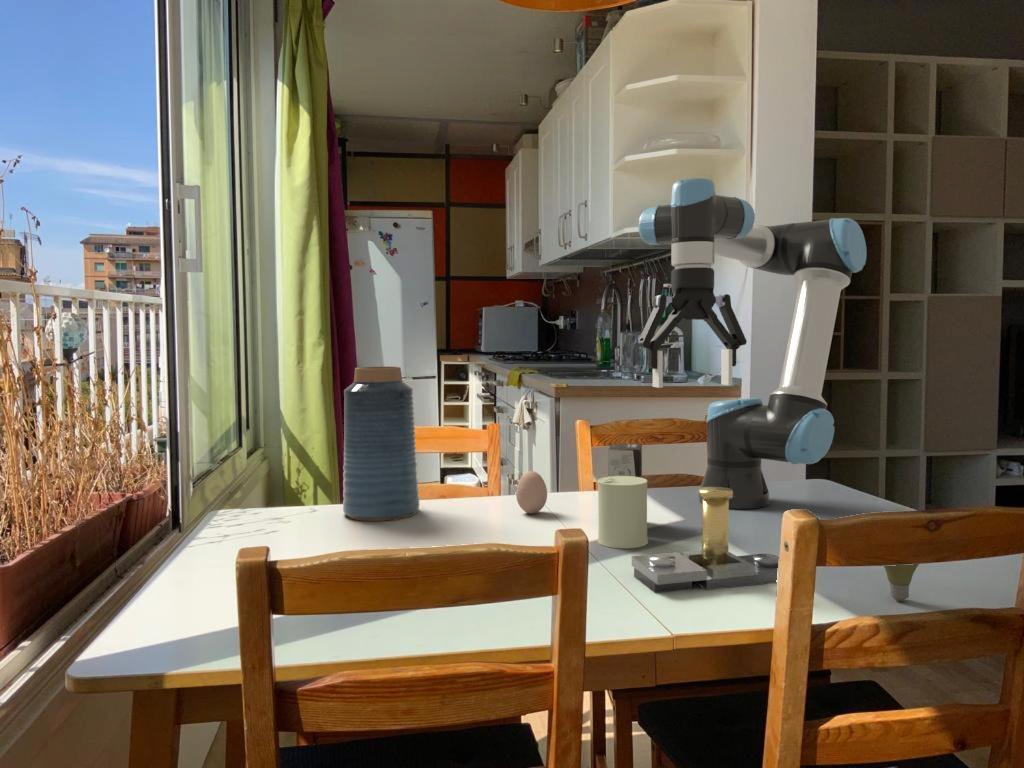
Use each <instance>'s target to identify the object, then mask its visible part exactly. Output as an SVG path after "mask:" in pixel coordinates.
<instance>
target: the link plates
mask: <svg viewBox="0 0 1024 768" xmlns="http://www.w3.org/2000/svg"><path fill="white" fill-rule="evenodd" d="M682 553H683V555H682ZM682 553H679V552H677V551H676V552H667V553H654V554H646V555H645V554H644V555H634V556H631V567H633V576H634V578H635V579H636V580H638V582H639V581H640V583H642V584H643V585H644V586H646V587H647V588H648V589H650V590H651V591H653V592H654V593H665V592H672V591H673V592H674V591H682V590H684V591H685V590H692V583H693V582H694V583H696V584H698V585H699V586H700V587H702V588H703V589H705V590H706V591H707V590H716V589H728V588H737V587H747V586H756V585H766V584H776V580H777V568H778V559H779V560H780V557H779V556H778V555H774V554H769V553H757V554H755V553H754V554H746V555H744V554H743V555H735V554H734V553H732V552H730V551H728V564H721V565H710V566H707V570H706V569H704V568H702V550H691V551H683V552H682Z"/></svg>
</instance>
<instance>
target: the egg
mask: <svg viewBox="0 0 1024 768" xmlns="http://www.w3.org/2000/svg"><path fill="white" fill-rule="evenodd" d="M515 492H516V494H515V495H516V501H517V504H518V505H519V507H520V509H522V510H523V511H524V512H525V513H526V514H530V515H531V514H532V515H533V514H537V513H539V512H540V511H541V510H542V509H543V508H544V507H545V506H546V503H547V499H548V489H547V485H546V482H545V480H544V479H543V477H542V475H541V474H539V473H538V472H536V471H534V470H530V471H526V472H525V473H524V474H522V476H521V477H520V479H519V481H518V483H517V486H516V491H515Z"/></svg>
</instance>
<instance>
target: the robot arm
mask: <svg viewBox="0 0 1024 768" xmlns="http://www.w3.org/2000/svg"><path fill="white" fill-rule="evenodd" d="M715 187H716V186H715V183H714V182H713V180H712V179H709V178H702V177H694V178H693V177H692V178H686V179H685V178H684V179H680V180H678V181H676V182H674V183H673V184H672V186H671V202H670V203H669V204H665V205H664V204H663V205H657V206H653V207H649V208H646V209H644V211H643V212H641V214H640V216H639V219H638V227H637V228H638V232H639V236H640V238H641V240H642V241H643V242H644V243H645V244H647V245H651V246H662V245H671V247H670V248H671V250H670V251H671V252H670V253H671V261H670V263H671V266H672V267H674V269H672V270H671V273H670V274H671V277H670V279H671V284H670V285H671V287H670V289H671V294H670V296H667V295H665V294H658V295H657V294H656V295H655V296H654V302H653V308H652V311H651V312H650V315H649V317H648V319H647V321H646V323H645V325H644V328H643V330H642V332H641V334H640V337H639V339H638V341H637V346H638V347H639V348H643V349H645V350H647V367H648V368H649V369H652V387H653V388H658V389H663V387H664V385H663V384H664V383H663V382H664V380H663V379H664V377H663V376H664V375H663V374H664V373H663V372H664V369H663V368H664V365H663V364H664V359H663V355H664V353H663V350H659V349H660V347H661V346H662V345H663V344H664V342H665V341H666V340H667V338H668V337H669V335H671V333H672V332H673V331H674V329H675V328H676V327H677V325H678V324H679V323H680V322H682V321H688V320H689V321H691V320H693V321H695V320H697V321H698V320H701V321H702V320H703V321H704V322H705V323H706V324H707V325H708V326H709V328H710V329H711V330H712V331H713V333H714V335H716V337H717V338H718V339H719V341H720V342H721V343H722V344H723V346H724V347H725V348H722V349H721V351H720V353H721V354H720V355H721V356H720V357H721V360H720V362H721V363H720V365H721V367H720V372H721V373H720V377H721V379H720V380H721V381H720V385H725V386H733V367H736V365H737V350H738V349H739V348H740V347H741V346H745V345H747V338H746V337H745V334H744V332H743V329H742V327H741V325H740V322H739V321H738V319H737V317H736V314H735V312H734V309H733V307H732V302H731V295H730V294H727V293H726V294H719V295H717V296H715V294H714V289H715V270H714V268H712V266H714V264H715V255H716V256H718V257H719V256H720V257H723V258H728V259H732V260H736V261H737V260H738V261H739V262H740V263H741V264H742V265H743V266H745V267H746V268H751V269H754V270H755V269H756V270H759V271H762V272H768V273H770V274H771V273H772V274H775V275H783V276H793V278H794V280H795V281H796V283H798V289H797V295H796V300H795V305H794V310H793V315H792V319H791V325H790V331H789V336H788V341H787V346H786V349H785V350H786V351H785V354H784V355H785V356H784V361H783V364H782V365H783V366H782V370H781V371H782V372H781V376H780V381H779V387H778V388H777V389H776V390H774V391H773V392H770V394H769V398H768V403H767V404H766V405H765V404H763V403H764V402H763V401H762V400H763V399H762V398H760V397H749V398H748V397H747V398H738V399H737V398H736V399H729V400H728V399H727V400H718V401H713V402H711V403H710V404H709V405H708V408H707V418H706V425H707V426H706V432H707V433H706V437H707V439H706V441H707V442H706V443H707V444H706V446H707V449H706V450H707V453H706V456H707V462H706V463H707V465H706V470H705V473H704V476H703V479H702V482H701V484H700V487H699V488H703V487H724V488H729V489H732V490H733V498H731V499H729V509H733V510H734V509H737V510H738V509H739V510H746V509H757V508H758V509H759V508H763V507H766V506H768V505H769V504H770V492H769V488H768V485H767V482H766V479H765V476H764V473H763V470H762V460H767V461H774V462H775V461H777V462H781V463H782V462H783V463H785V462H786V463H790V464H792V465H800V464H803V465H813V464H815V463H818V462H819V461H821V460H822V458H824V457H825V456H826V455H827V453H828V452H829V450H830V448H831V445H832V444H833V439H834V436H835V426H834V424H835V419H834V416H833V414H832V413H831V412H830V411H829V410H827V407H828V402H826V400H825V399H824V398H823V396H822V392H823V388H824V382H825V377H826V372H827V371H826V370H827V366H828V360H829V354H830V351H831V345H832V339H833V333H834V330H835V323H836V319H837V312H838V307H839V304H840V303H839V302H840V297H841V291H842V290H843V289H845V288H847V287H848V286H849V285H850V283H851V279H852V274H853V273H858V272H860V271H862V270H863V268H864V266H865V265H866V262H867V245H866V239H865V236H864V232H863V230H862V228H861V226H860V225H859V223H858V222H856V221H855V220H854V219H853V218H849V217H843V218H842V217H841V218H835V217H831V218H829V219H822V220H821V219H820V220H815V221H814V220H813V221H802V222H796V223H795V222H792V223H791V222H790V223H784V224H778V225H763V224H755V218H756V213H755V210H754V208H753V206H752V204H751V203H749V201H747V200H744V199H741V198H739V197H736V196H733V197H731V196H725V195H718V194H716V190H715V189H716V188H715ZM669 305H670V306H671V307H672V309H673V310H672V311H671V313H670V314H669V315H668V316H667V319H666V320H665V321H664V323H663V324H662V325H661V327H660V328H659V330H658V331H656V330H657V328H658V327H659V324H660V322H661V320H662V318H663V315H664V313H665V310H666V308H667V307H669ZM714 305H716V307H717V308H718V310H719V312H720V315H721V317H722V319H723V322H724V324H725V325H726V326H724V324H723V323H722V322H721V320H720V319H719V318H718V315H717V313H716V312H715V311H714V310H713V307H714ZM698 497H699V496H698ZM698 501H699V502H700V503H701V504H702V498H701V497H699V498H698Z"/></svg>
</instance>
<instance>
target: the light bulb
mask: <svg viewBox="0 0 1024 768" xmlns="http://www.w3.org/2000/svg"><path fill="white" fill-rule="evenodd" d="M919 565H920V563H919V564H913V565H896V566H883V568H884V569H885V572H886V578H887V580H888V582H889V584H890V585H889V586H890V588H889V589H890V590H889V591H890V592H889V594H890V596H891V597H892V598H893V599H894V600H895V601H896V602H903V601H905V600H906V599H908V598H909V596H910V593H909V592H910V585H911V582H912V579H913V575H914V573H915V572H916V570H917V568H918V566H919Z"/></svg>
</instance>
